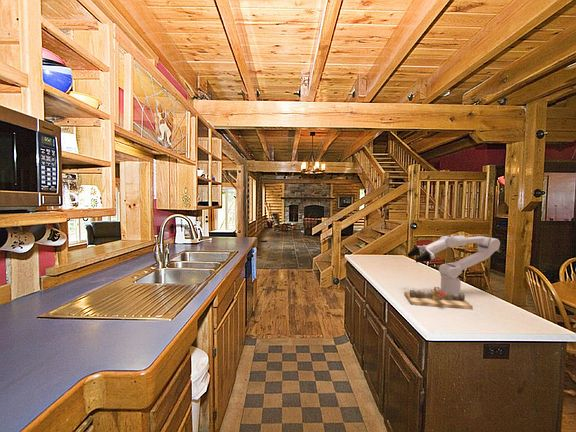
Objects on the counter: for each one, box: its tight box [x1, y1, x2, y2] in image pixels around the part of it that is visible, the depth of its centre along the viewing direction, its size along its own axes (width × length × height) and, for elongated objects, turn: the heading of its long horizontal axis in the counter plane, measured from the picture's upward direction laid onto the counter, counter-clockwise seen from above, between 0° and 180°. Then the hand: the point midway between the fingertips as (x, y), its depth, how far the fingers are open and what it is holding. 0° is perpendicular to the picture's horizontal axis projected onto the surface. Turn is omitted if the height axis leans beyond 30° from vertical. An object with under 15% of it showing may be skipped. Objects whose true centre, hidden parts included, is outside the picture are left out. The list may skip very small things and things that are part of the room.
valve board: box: [403, 288, 473, 310], centre depth 154 cm, size 28×16×6 cm, turn 80°
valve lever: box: [433, 286, 446, 297], centre depth 149 cm, size 11×2×1 cm, turn 170°
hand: (411, 258), depth 165 cm, fingers open, 7 cm apart
